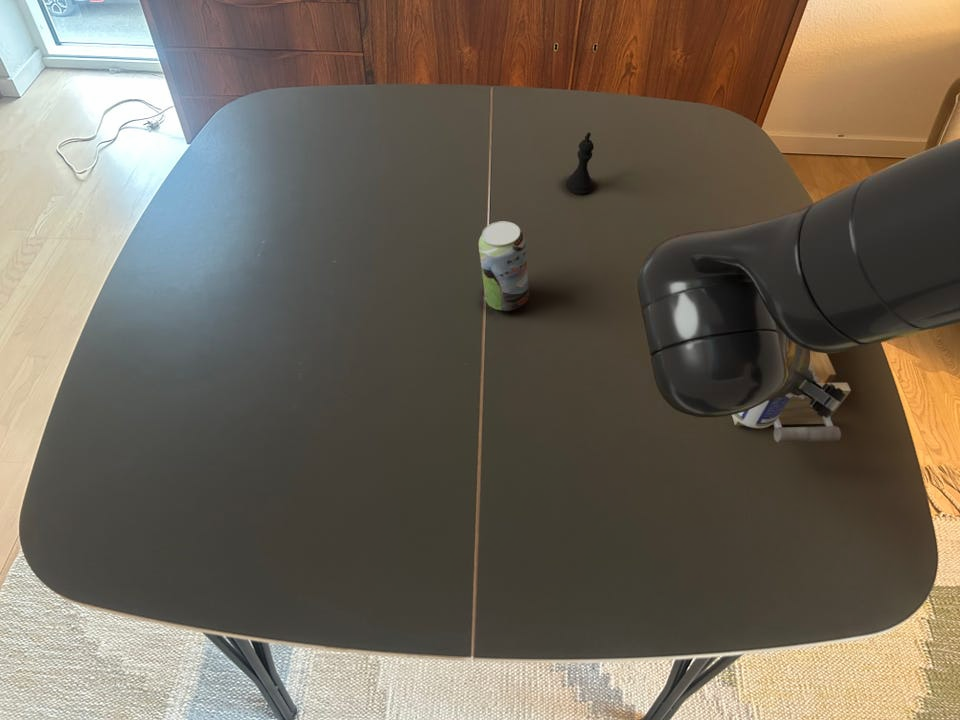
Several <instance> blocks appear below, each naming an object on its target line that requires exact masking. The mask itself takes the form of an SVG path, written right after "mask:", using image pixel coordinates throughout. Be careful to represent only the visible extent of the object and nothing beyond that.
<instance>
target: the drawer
mask: <svg viewBox="0 0 960 720" xmlns="http://www.w3.org/2000/svg"><path fill="white" fill-rule="evenodd" d="M828 355H829V354H828V353H819V352H814V351H810V365H812V366H813V367H814V370H813V372H814V373H815V374H817V375H818V376H817V377H818V378H820V380H819V381H818V383H817V382H816V383H817V384H819V385H820V386H822V387H823V385H824V384H825V383H829V384H832V385H834V386H835V388H836V389H837V388H840V389H841V390H843V393H844V394H845V395H846V396H845V397H844V399H843V400H842V401H841V402H840V401H839V402H840V403H839V405H838V406H837V407H836V408H835V409H834V411H832V413H831V414H830V416H829V417H828V418H825V417H824V416H823V417H821V416H819V415H818V414H817V413H818V412H817V411H815V410H813V409H812V408H811V407H810V406H809V403H810V401H811V400H812V399H810V398H809V397H807V396H806V397H805V399H804V400H802V399H800V398H799V399H798V398H796V397H795V396H793V397H791V398H790V399H789V401H788V402H787V404H786V406H785V407H784V409H783V410H782V412H781V414H780V415H779V417H778V418H777V420H776V421H775V422H774V423H773V424H772V425H771V426H773V428H774V430H773V438H774V441H775V442H776V443H791V442H794V443H797V442H837V441H840V439H841V438H842V431H841V429H840V427H839V426H837V425H834V423H833V421H832V420H831V418H832V417H833V416H834V415H835V413H836V411H837V410H838V409H839V407H840V406H841V405H842V404H843V402H844V400H845V399H846V398H847V397H848V395H849V394H850V393H851V391H852V390H851V387H850V385H849V383H848V382H832V381H833V380H834V379H835V378H836V376H837V373H836V371H835V369H834V366H833V364H832V362H831V360H830V358H829V356H828ZM732 420H733V423H734V426H744V425H743V424H741V423H740V422H738V421H737V420H736V419H735V418H733V417H732ZM821 424H822V425H824V426H797V427H796V426H792V427H791V426H789V427H787V426H786V427H784V426H783V425H821Z"/></svg>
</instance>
